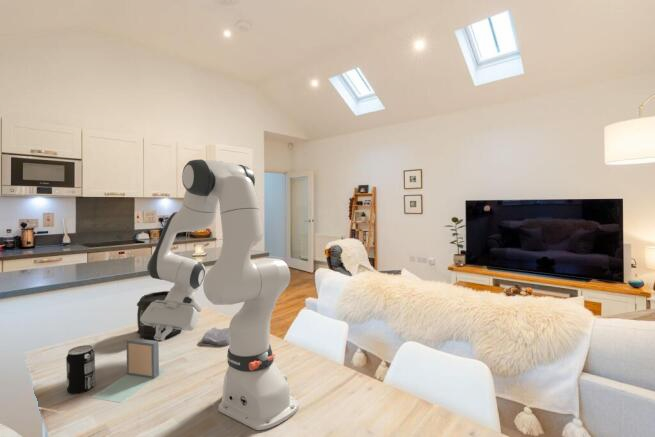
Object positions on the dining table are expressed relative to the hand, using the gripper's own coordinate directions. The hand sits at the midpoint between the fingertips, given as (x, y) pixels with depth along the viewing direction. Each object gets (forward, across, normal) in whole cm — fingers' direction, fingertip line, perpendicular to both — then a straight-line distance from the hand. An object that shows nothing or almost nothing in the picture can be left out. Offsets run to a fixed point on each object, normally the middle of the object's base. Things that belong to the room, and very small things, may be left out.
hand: (158, 339), depth 110 cm
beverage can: (+19, -11, -6) cm, 23 cm away
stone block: (-10, +9, +23) cm, 26 cm away
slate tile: (+11, 0, +1) cm, 11 cm away
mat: (+14, 0, -2) cm, 15 cm away
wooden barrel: (-10, -19, +23) cm, 31 cm away
